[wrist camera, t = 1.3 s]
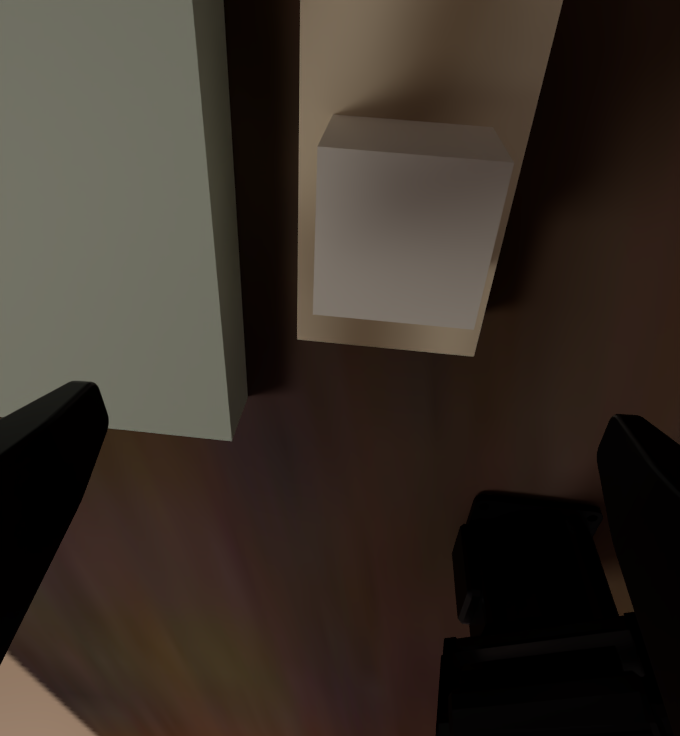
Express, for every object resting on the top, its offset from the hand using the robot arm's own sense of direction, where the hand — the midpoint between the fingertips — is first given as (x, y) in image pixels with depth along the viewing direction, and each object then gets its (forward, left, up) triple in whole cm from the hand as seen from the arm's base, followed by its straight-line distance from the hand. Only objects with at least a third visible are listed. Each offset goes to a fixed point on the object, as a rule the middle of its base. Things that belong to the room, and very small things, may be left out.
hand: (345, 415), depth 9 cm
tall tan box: (-1, -1, -12) cm, 12 cm away
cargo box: (-1, -1, -9) cm, 9 cm away
